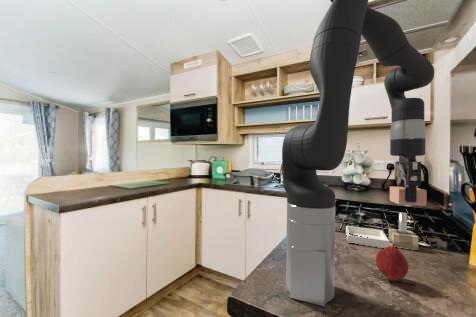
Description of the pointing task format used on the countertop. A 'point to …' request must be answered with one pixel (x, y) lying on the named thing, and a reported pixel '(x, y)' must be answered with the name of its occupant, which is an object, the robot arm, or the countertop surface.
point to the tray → (374, 236)
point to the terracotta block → (399, 196)
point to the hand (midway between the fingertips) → (406, 199)
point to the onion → (392, 263)
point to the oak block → (403, 239)
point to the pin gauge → (402, 223)
